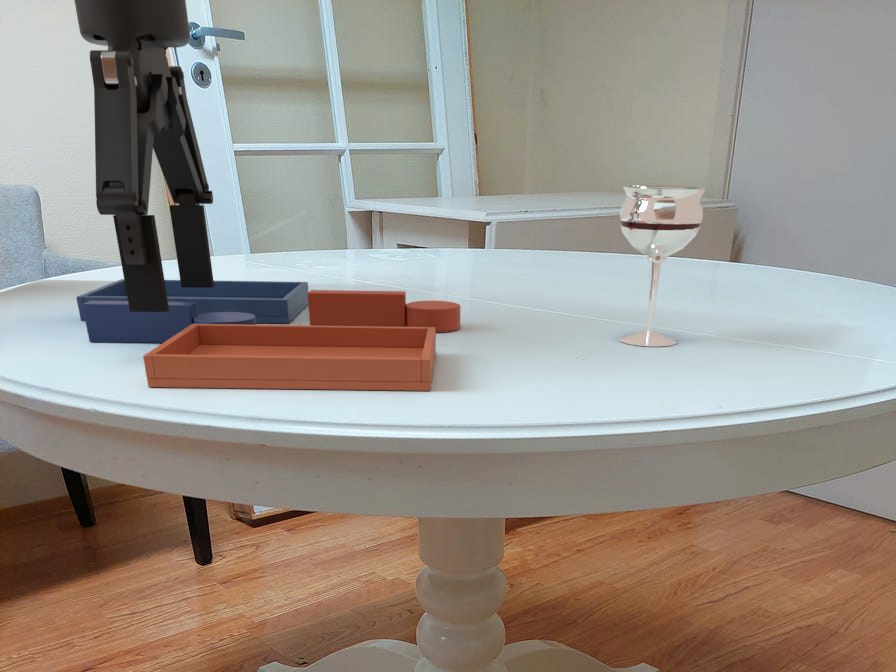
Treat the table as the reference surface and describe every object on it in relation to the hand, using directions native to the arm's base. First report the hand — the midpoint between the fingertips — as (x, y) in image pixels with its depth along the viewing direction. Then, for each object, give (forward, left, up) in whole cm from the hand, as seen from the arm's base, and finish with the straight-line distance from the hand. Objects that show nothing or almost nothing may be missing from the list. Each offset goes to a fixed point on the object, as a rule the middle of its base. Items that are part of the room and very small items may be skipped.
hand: (175, 298), depth 72 cm
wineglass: (+40, +3, -4) cm, 40 cm away
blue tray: (-2, +15, -3) cm, 16 cm away
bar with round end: (+17, +8, -3) cm, 19 cm away
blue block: (0, 0, -3) cm, 3 cm away
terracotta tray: (+12, -10, -3) cm, 16 cm away
